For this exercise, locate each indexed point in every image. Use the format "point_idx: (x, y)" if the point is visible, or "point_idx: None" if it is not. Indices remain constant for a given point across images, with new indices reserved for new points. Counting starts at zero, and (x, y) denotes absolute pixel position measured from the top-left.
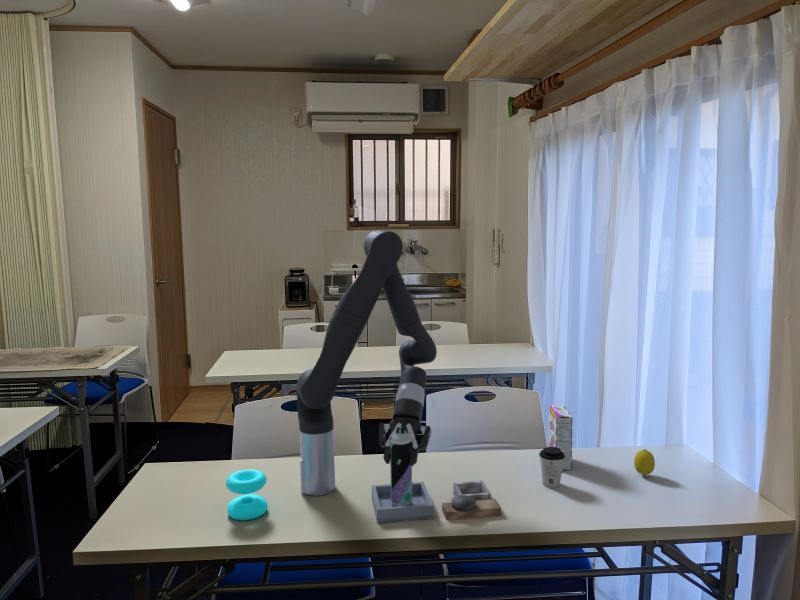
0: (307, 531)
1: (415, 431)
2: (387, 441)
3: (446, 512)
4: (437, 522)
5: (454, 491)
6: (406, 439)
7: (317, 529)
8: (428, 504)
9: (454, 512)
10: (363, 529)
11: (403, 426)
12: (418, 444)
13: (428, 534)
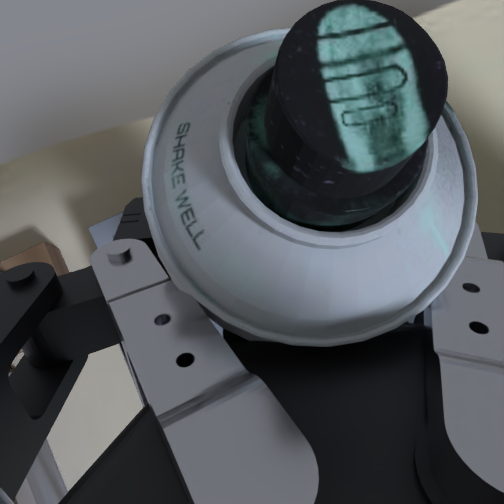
0: (485, 47)
1: (111, 446)
2: (474, 240)
3: (43, 243)
4: (88, 220)
5: (49, 482)
6: (179, 82)
7: (463, 66)
8: (112, 231)
9: (12, 258)
10: None
11: (402, 500)
12: (87, 300)
13: (102, 133)
